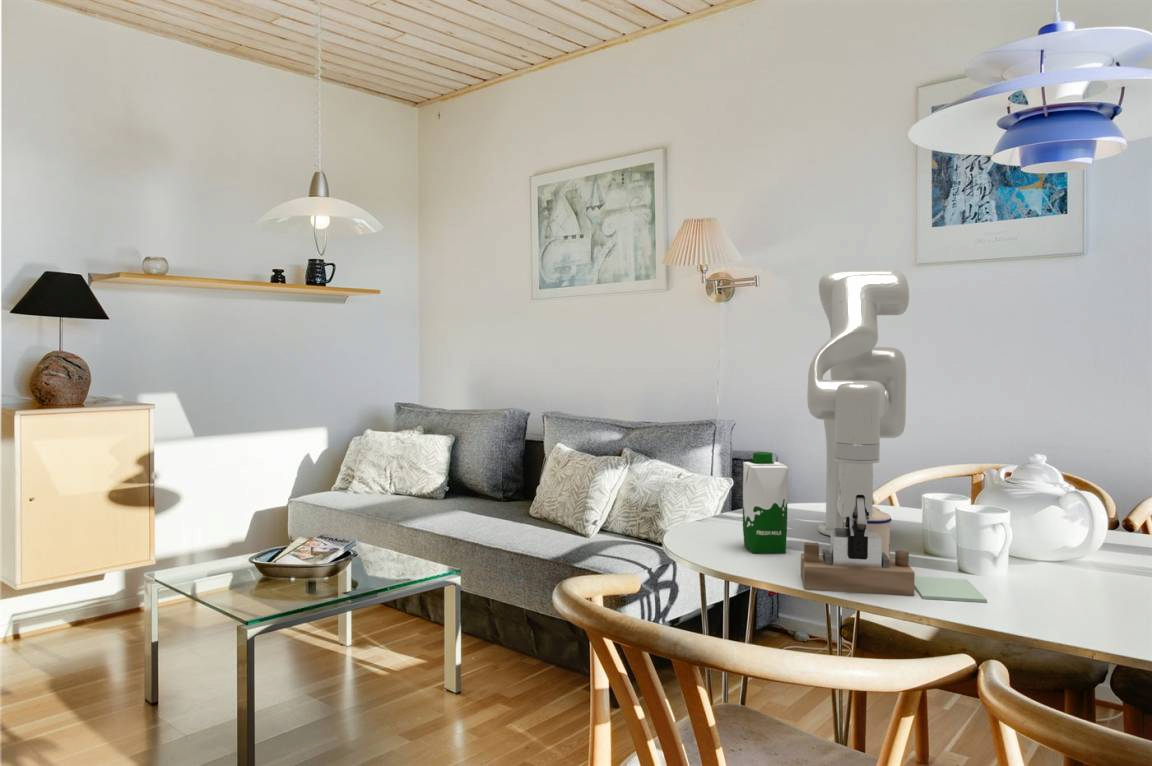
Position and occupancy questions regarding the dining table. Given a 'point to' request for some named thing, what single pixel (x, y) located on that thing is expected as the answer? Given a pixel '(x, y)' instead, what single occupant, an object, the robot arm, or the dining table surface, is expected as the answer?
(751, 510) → the milk carton
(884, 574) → the plane body
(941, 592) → the mat
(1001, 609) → the dining table surface
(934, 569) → the dining table surface
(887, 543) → the teacup with lid
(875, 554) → the lever cap
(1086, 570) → the dining table surface
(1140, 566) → the dining table surface
